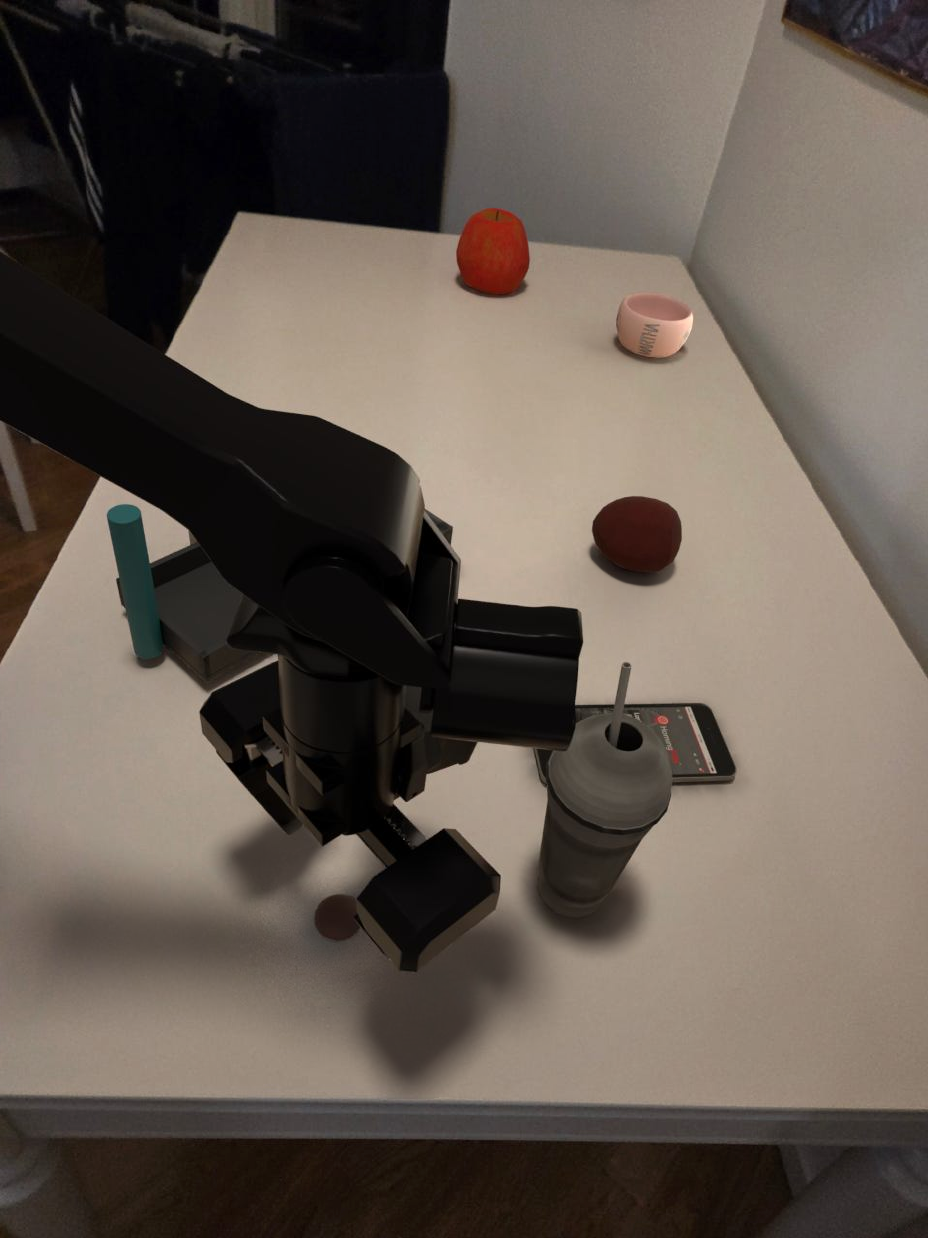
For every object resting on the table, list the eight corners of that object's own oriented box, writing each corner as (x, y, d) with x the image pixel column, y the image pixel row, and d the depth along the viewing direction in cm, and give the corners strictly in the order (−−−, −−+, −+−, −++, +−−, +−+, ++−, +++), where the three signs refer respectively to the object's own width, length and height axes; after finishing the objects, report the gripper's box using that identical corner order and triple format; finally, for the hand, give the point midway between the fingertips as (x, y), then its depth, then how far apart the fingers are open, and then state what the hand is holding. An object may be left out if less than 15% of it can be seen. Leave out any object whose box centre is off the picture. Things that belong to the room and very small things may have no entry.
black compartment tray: (180, 698, 65) (158, 561, 56) (95, 616, 70) (63, 480, 62) (355, 598, 75) (359, 469, 67) (270, 533, 81) (263, 406, 72)
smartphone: (526, 705, 69) (709, 702, 71) (525, 711, 69) (706, 708, 71) (543, 781, 63) (740, 776, 66) (542, 788, 64) (737, 782, 66)
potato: (589, 529, 88) (604, 470, 83) (673, 548, 87) (693, 489, 83) (580, 574, 83) (596, 514, 78) (670, 594, 82) (691, 534, 77)
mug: (682, 371, 116) (695, 328, 112) (608, 357, 117) (618, 314, 113) (683, 334, 125) (695, 293, 121) (614, 321, 126) (624, 279, 122)
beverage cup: (572, 960, 55) (653, 758, 41) (493, 877, 58) (544, 665, 45) (647, 895, 58) (744, 690, 45) (568, 820, 62) (636, 611, 49)
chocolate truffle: (365, 903, 56) (366, 890, 55) (360, 948, 54) (361, 935, 53) (317, 900, 56) (317, 886, 55) (311, 945, 53) (310, 932, 52)
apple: (449, 267, 134) (456, 193, 127) (519, 272, 136) (530, 199, 128) (456, 297, 126) (464, 220, 119) (530, 301, 128) (543, 225, 121)
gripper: (605, 750, 41) (547, 919, 51) (360, 542, 50) (354, 722, 61) (420, 884, 35) (397, 1045, 45) (181, 619, 44) (208, 804, 55)
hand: (338, 883), depth 52 cm, fingers open, 9 cm apart
